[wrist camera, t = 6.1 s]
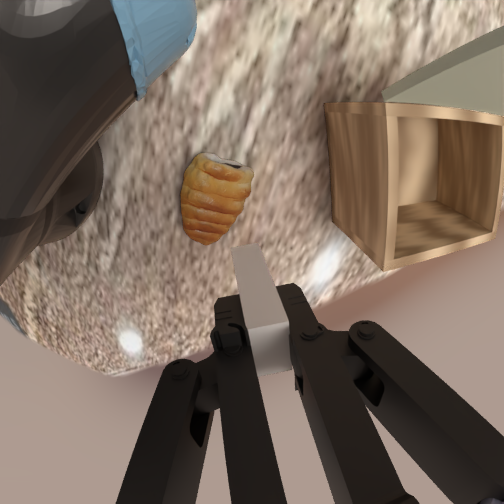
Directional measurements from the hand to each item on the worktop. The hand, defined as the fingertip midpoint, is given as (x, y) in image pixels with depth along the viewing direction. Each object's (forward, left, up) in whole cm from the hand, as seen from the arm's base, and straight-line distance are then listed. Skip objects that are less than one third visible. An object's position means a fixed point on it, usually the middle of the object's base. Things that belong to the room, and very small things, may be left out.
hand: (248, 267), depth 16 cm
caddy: (+20, +1, -17) cm, 26 cm away
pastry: (-5, -1, -17) cm, 18 cm away
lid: (+20, +8, -5) cm, 22 cm away
